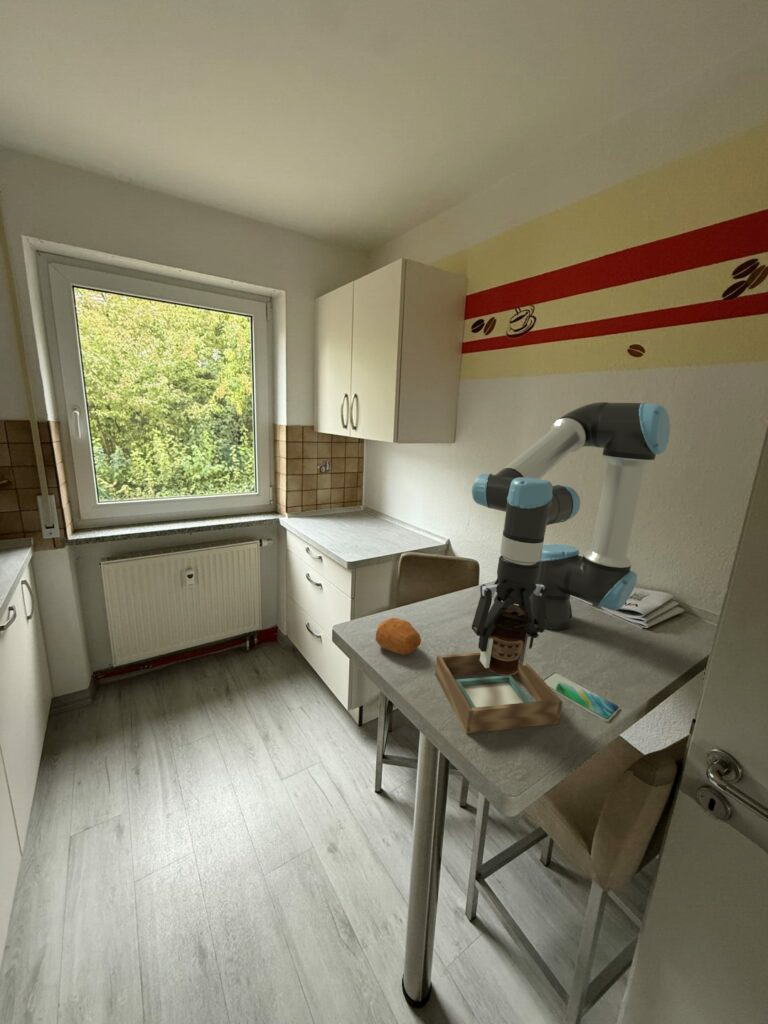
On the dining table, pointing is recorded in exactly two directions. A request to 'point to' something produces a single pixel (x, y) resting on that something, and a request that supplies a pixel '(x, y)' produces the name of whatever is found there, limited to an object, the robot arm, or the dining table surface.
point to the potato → (398, 636)
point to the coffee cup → (508, 640)
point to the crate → (495, 695)
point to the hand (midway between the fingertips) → (502, 662)
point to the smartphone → (582, 697)
